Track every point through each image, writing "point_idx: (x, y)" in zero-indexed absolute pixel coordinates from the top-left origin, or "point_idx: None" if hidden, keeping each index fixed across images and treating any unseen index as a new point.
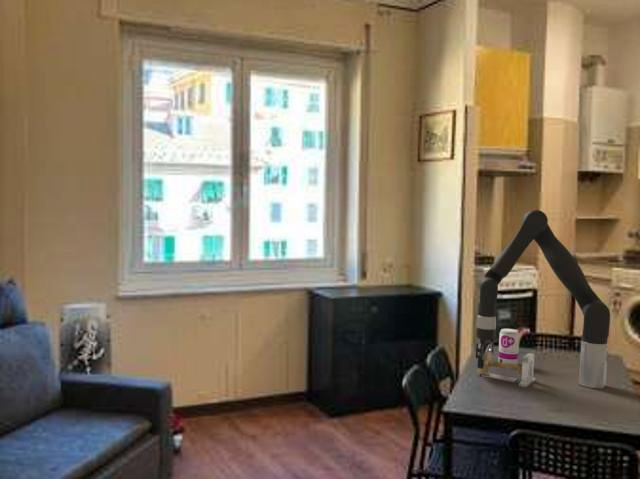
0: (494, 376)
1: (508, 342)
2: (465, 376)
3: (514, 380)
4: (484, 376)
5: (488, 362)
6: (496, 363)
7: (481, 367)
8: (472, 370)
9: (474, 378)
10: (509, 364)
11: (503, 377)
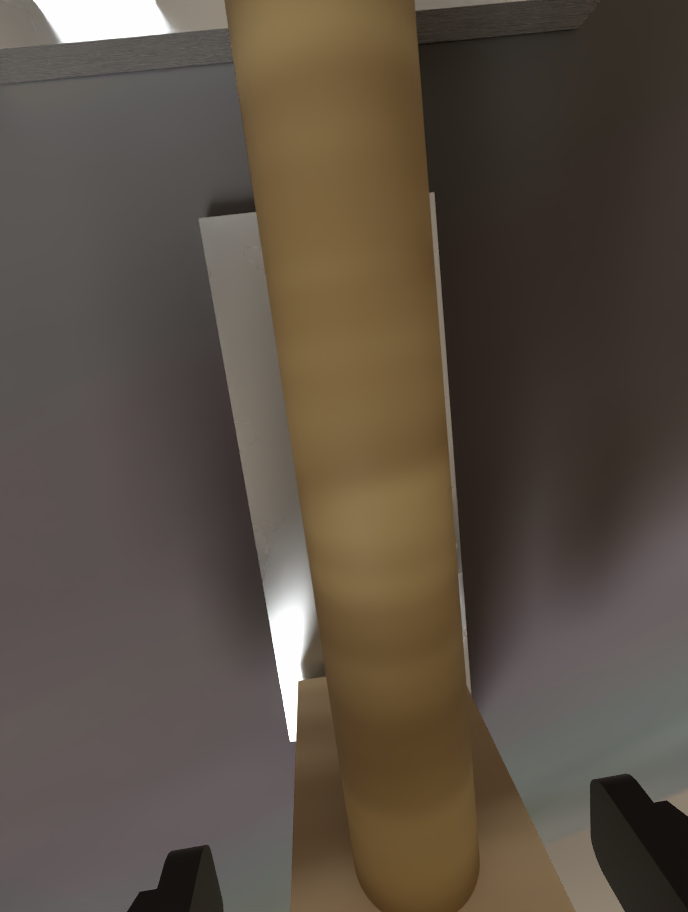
0: None
1: None
2: None
3: None
4: (466, 661)
5: (481, 861)
6: (464, 688)
7: (661, 801)
8: (281, 897)
9: (631, 702)
10: (398, 303)
11: None
